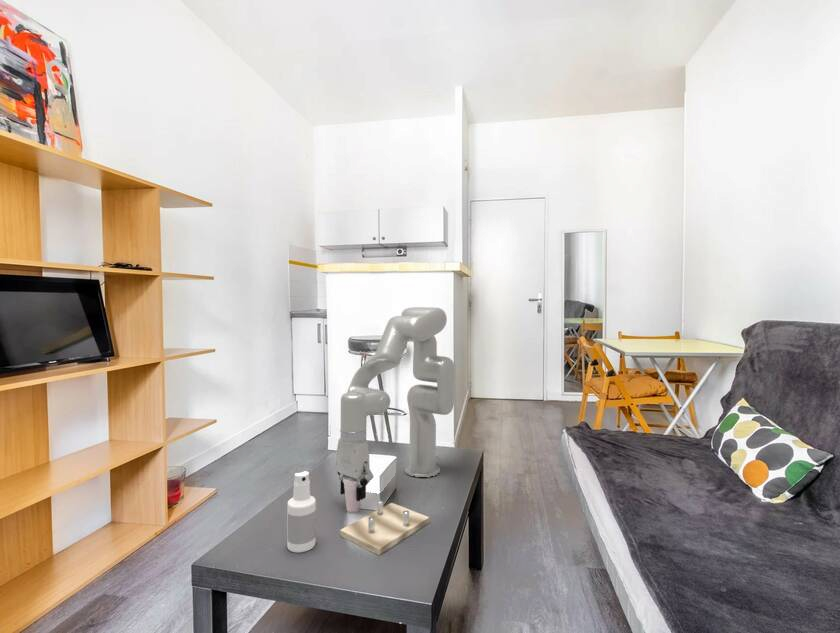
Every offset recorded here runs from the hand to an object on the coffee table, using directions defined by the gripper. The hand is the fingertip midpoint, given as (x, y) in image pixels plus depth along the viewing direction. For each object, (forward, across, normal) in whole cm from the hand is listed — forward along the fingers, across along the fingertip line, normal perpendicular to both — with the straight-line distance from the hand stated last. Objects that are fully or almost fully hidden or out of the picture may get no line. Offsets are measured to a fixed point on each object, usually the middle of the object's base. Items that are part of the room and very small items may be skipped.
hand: (353, 495), depth 123 cm
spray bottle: (+4, +4, -21) cm, 22 cm away
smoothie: (+4, 0, 0) cm, 4 cm away
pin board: (+4, +15, -2) cm, 16 cm away
